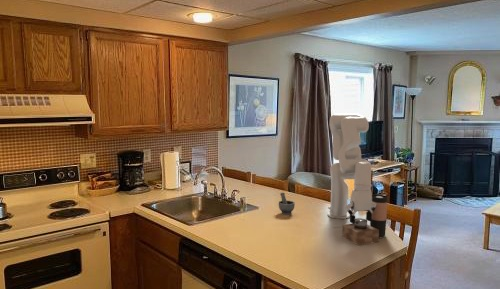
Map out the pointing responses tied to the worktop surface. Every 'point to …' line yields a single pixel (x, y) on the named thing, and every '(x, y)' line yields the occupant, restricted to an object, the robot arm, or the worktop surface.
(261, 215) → the worktop surface
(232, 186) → the worktop surface
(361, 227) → the peg
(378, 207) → the travel mug
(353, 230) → the block
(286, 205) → the mortar and pestle
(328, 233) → the worktop surface
